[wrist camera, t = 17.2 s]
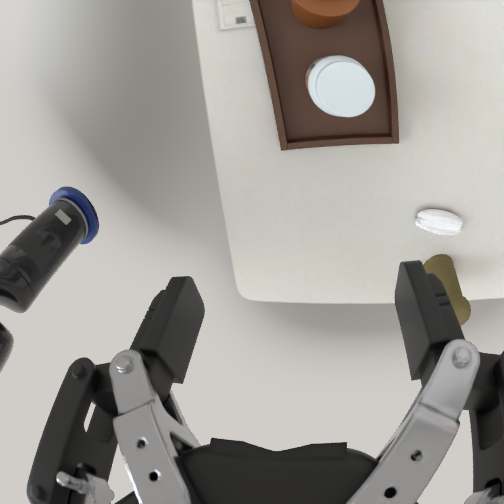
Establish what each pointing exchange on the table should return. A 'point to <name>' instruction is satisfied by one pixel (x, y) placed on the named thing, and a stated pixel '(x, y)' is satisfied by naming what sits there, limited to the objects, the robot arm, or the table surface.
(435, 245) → the table surface
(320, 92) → the pill bottle
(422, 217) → the sub sandwich
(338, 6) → the amber bottle
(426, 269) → the cork
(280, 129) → the tray
